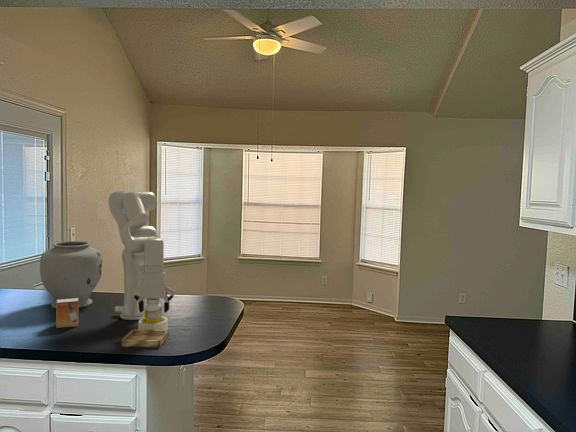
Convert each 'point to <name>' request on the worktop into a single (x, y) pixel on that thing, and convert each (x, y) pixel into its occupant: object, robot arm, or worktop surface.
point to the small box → (67, 313)
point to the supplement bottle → (153, 311)
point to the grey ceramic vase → (71, 271)
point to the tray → (145, 338)
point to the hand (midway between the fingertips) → (153, 311)
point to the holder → (153, 325)
